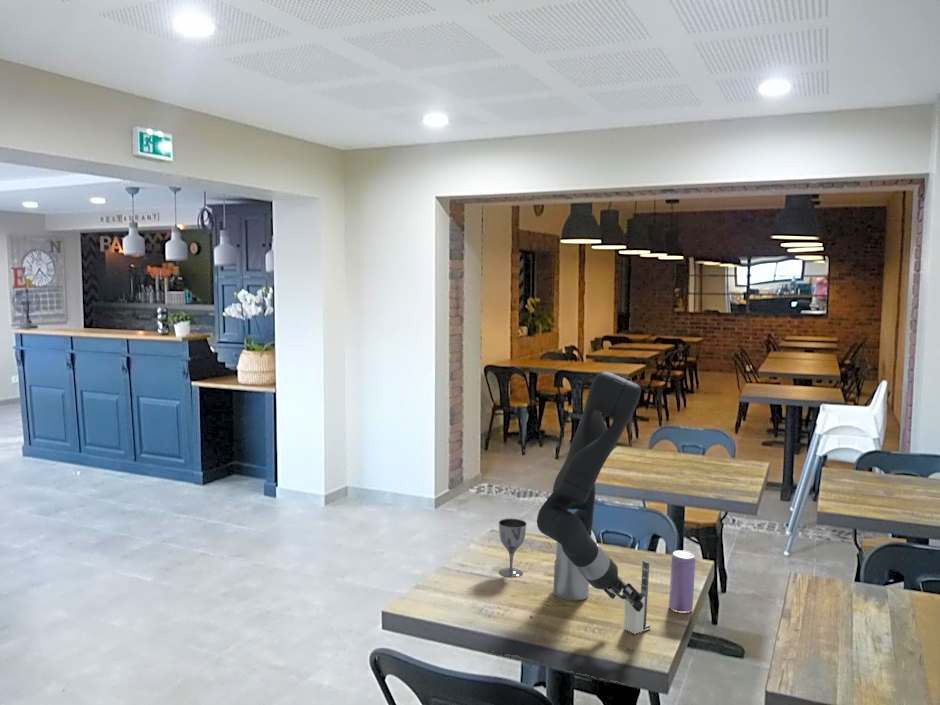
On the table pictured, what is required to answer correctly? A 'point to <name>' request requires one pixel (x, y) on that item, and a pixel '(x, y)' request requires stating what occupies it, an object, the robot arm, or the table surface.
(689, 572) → the beverage can
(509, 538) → the wine glass
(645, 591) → the rail
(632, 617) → the fader knob
